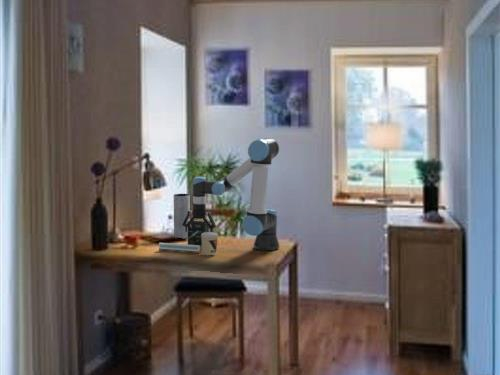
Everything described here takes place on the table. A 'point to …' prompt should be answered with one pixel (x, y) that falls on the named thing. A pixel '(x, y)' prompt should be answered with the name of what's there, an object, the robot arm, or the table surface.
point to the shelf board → (182, 250)
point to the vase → (181, 214)
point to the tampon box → (196, 231)
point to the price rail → (179, 247)
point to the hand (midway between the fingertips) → (199, 238)
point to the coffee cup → (209, 243)
